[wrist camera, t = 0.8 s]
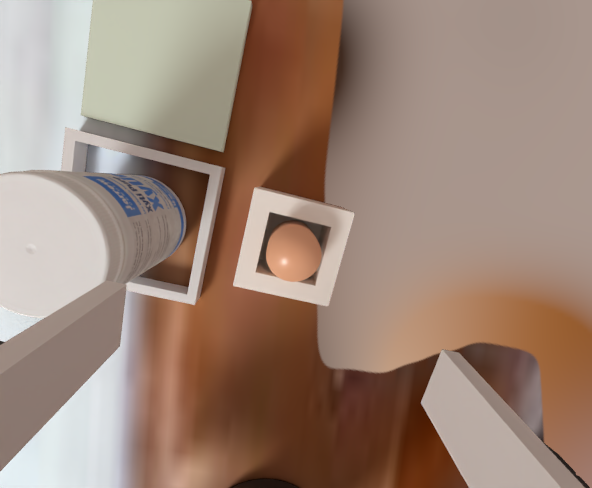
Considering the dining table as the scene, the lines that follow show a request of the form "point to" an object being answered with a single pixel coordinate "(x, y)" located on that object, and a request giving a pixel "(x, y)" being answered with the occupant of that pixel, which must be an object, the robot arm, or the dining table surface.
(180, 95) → the mat
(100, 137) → the frame
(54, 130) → the dining table surface
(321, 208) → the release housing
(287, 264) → the button
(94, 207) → the supplement tub
